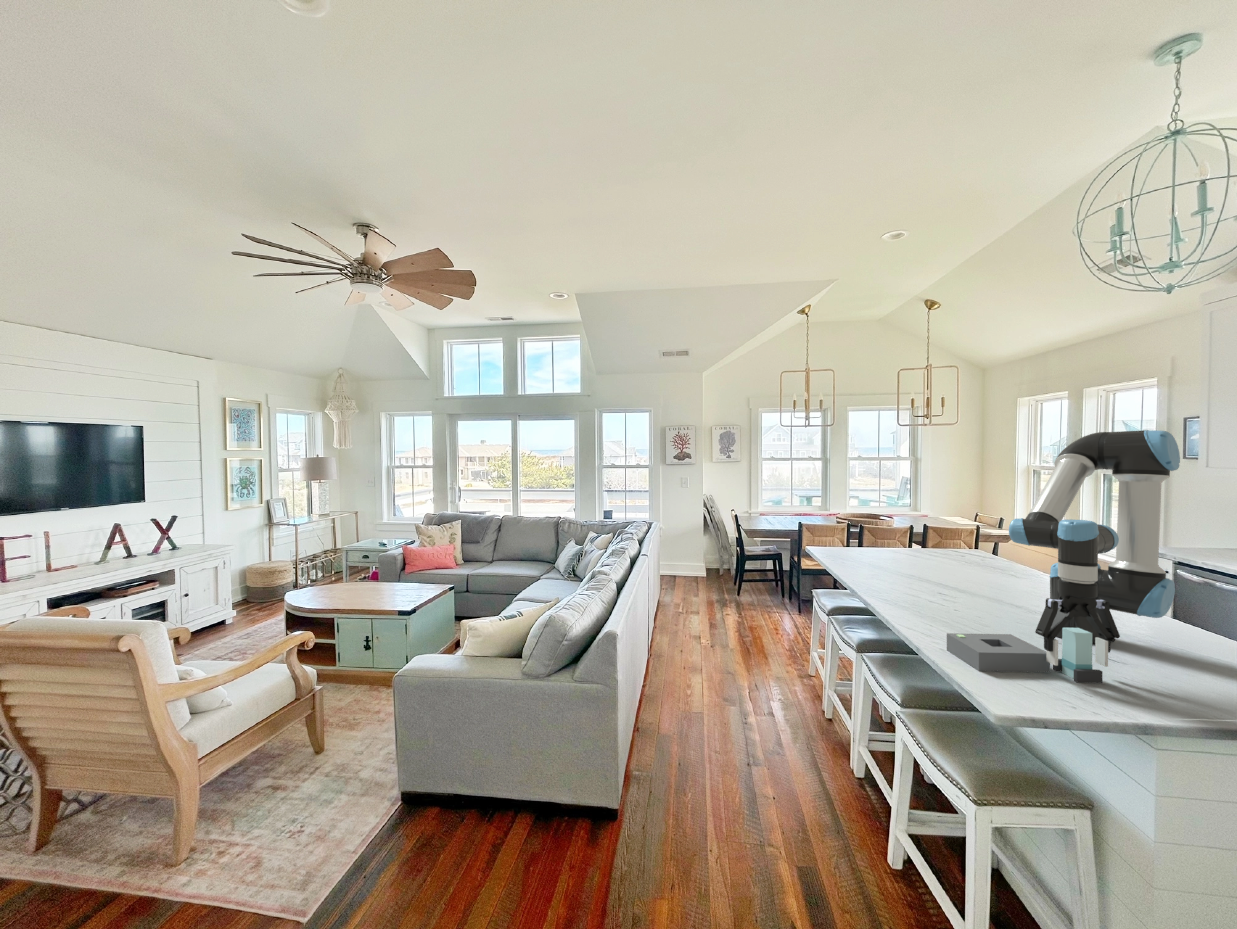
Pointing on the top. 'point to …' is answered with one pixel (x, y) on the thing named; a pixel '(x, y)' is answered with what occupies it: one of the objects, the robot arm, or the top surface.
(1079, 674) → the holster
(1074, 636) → the plug
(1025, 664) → the port block
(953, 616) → the top surface
